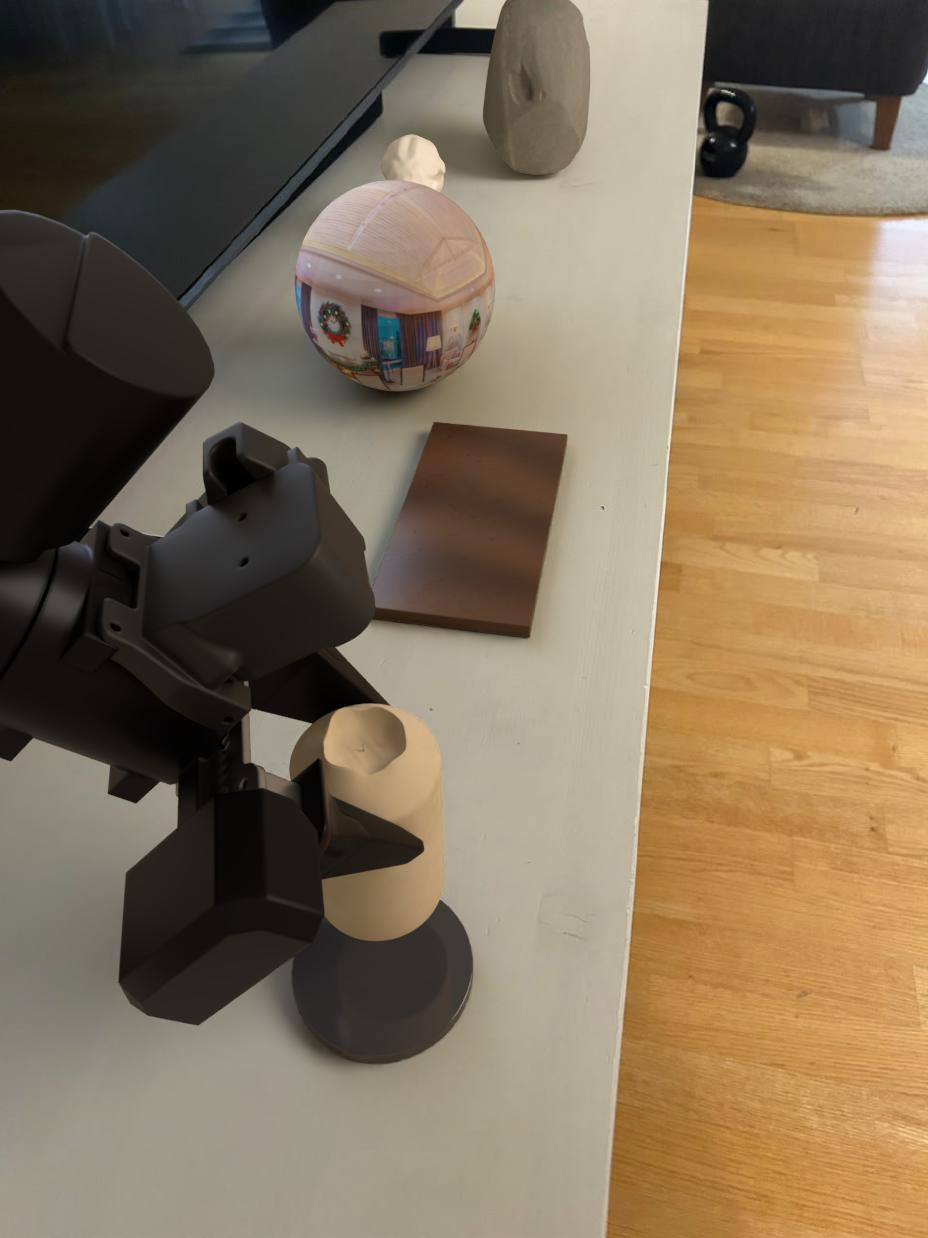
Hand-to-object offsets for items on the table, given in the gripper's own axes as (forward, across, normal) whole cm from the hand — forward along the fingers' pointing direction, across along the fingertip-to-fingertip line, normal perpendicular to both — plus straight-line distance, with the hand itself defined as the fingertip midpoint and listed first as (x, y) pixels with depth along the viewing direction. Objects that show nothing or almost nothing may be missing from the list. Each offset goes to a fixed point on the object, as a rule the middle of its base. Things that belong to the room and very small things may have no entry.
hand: (405, 788), depth 37 cm
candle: (+4, 0, +6) cm, 7 cm away
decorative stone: (+27, +92, -12) cm, 97 cm away
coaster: (+7, -2, +9) cm, 11 cm away
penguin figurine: (+15, +72, +1) cm, 74 cm away
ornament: (+12, +48, +4) cm, 49 cm away
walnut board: (+14, +28, +2) cm, 31 cm away
